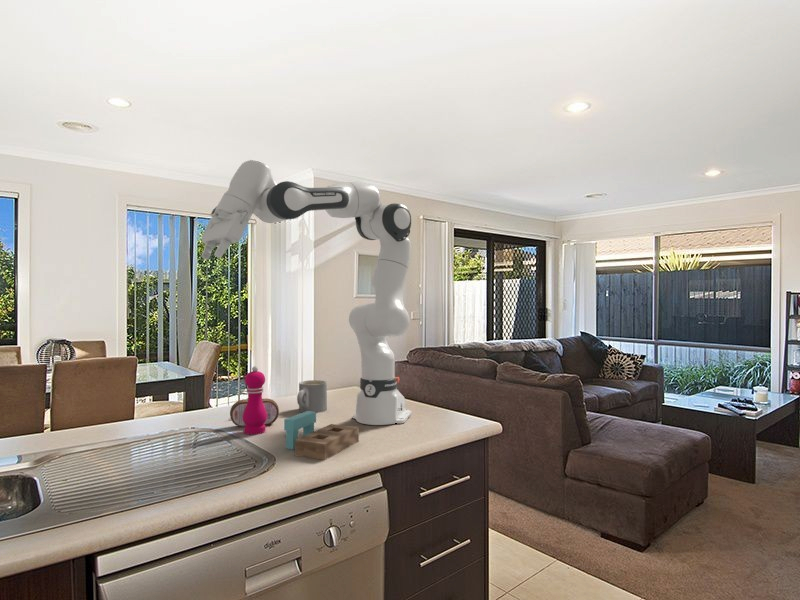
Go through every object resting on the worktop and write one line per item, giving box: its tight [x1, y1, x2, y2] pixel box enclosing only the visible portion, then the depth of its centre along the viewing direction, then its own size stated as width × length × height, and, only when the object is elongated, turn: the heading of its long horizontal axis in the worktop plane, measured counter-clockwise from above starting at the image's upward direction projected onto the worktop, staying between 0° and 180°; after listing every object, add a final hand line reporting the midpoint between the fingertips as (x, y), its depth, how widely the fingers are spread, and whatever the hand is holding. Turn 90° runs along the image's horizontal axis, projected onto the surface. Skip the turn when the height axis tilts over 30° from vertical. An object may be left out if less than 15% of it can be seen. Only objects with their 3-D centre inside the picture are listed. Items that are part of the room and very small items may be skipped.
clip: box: [283, 411, 317, 450], centre depth 140 cm, size 11×3×8 cm, turn 157°
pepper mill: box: [243, 365, 267, 435], centre depth 152 cm, size 7×7×20 cm
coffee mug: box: [296, 379, 328, 414], centre depth 181 cm, size 13×10×10 cm
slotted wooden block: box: [294, 423, 360, 461], centre depth 136 cm, size 18×9×4 cm, turn 157°
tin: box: [229, 398, 280, 428], centre depth 160 cm, size 15×3×8 cm, turn 108°
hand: (210, 257), depth 132 cm, fingers open, 8 cm apart
